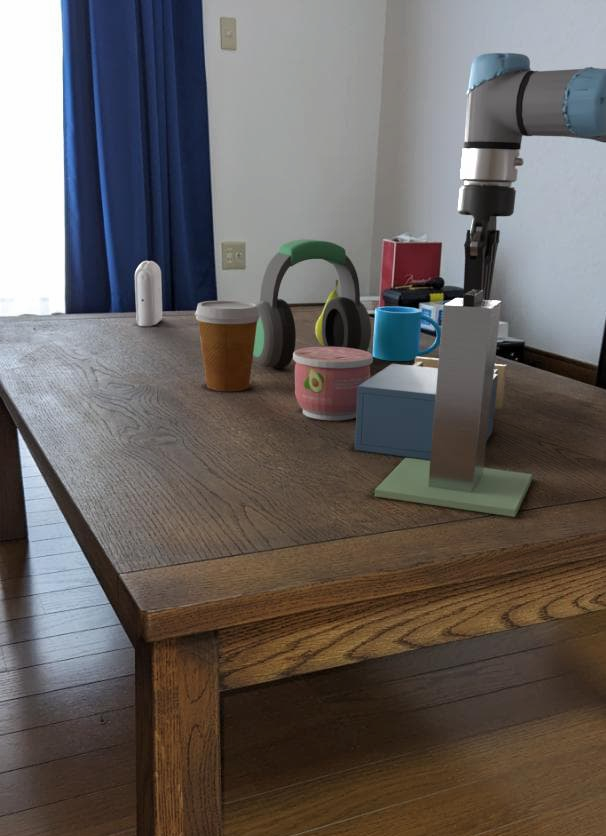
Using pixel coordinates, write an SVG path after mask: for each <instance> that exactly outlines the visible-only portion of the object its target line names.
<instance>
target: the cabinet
mask: <svg viewBox="0 0 606 836" xmlns="http://www.w3.org/2000/svg"><path fill="white" fill-rule="evenodd" d="M437 373H438V368H430V367H420V366H412V365H409V364H398V363H391V364H389V365H388V366H386V367H385V368H383V369H382V370H380V371H379V372H377V373H375V374H374V375H373V376H370V379H368V380H367V381H365V382H364V383H362V384H361V385H359V386H358V393H357V412H356V417H355V434H354V451H358V452H367V453H375V454H381V455H388V456H389V455H390V456H397V457H404V458H413V459H420V460H428V461H430V457H431V445H432V433H433V421H434V409H435V397H436V385H437ZM497 380H498V374H494V375H493V385H492V394H491V403H490V412H489V422H488V431H487V440H486V442H487V441H488V440H489V438H490V437H491V436H492V434H493V428H494V427H493V426H494V417H495V409H496V408H495V400H496V391H497V382H498V381H497Z"/></svg>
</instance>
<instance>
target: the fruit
mask: <svg viewBox="0 0 606 836" xmlns="http://www.w3.org/2000/svg"><path fill="white" fill-rule="evenodd" d="M334 283H335V288H334V290H333V291H331V293H330V294H329V295H328V298H327V299H326V302H325V304H324V306H323V309H322V312H321V314H320V316H319V317H318V319H317V321H316V323H315V328H314V330H315V331H314V333H315V337H316V339H317V341H318V342H319V344H320V345H321V346H322V347H324V344H323V339H322V319H323V313H324V310H325V307H326V305H327V303H328V302H329V301H330V300H331V299H333V298H335V297H340V296H339V294H338V291H337V289H338V285H339V280H338V279H336V280H335V282H334Z"/></svg>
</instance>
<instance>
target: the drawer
mask: <svg viewBox="0 0 606 836" xmlns="http://www.w3.org/2000/svg"><path fill="white" fill-rule="evenodd" d="M438 361H439V357H438V358H437V357H427V356H419V357H416V358H415V360H414V363H413V364H412V365H411V366H420V367H430V368H438ZM507 366H508V365H507V364H502V363H501V364H500V363H495V366H494V374H498V380H497V381H498V382H497V391H496V400H495V409H500V410H501V409H502V407H503V402H504V395H505V386H506V385H505V384H506V375H507V374H506V373H507Z"/></svg>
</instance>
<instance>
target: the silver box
mask: <svg viewBox="0 0 606 836" xmlns="http://www.w3.org/2000/svg"><path fill="white" fill-rule="evenodd" d="M483 291H484V290H477V289H473V290H472V291H470V292H468V293H466V294H464V298H463V297H455V298H453V299H452V300H450V301H448V302H446V303H444V304H443V306H442V316H441V325H440V326H441V327H440V328H441V337H440V344H439V348H438V349H439V351H438V358H439V361H438V373H437V385H436V397H435V409H434V421H433V433H432V445H431V457H430V460H429V461H430V469H429V480H428V487H435V488H442V489H449V490H456V491H463V492H470V493H472V492H473V490H474V488H475V487H476V485H477V484H478V482H479V481H480V479H481V477H482V476H483V468H485V457H486V450H487V449H486V448H487V441H488V440H487V431H488V422H489V412H490V403H491V394H492V385H493V375H494V366H495V364H496V355H497V347H498V338H499V329H500V326H499V325H500V318H501V309H502V301H501V300H494V299H493V300H491V299H490V300H483ZM486 440H487V441H486Z"/></svg>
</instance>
